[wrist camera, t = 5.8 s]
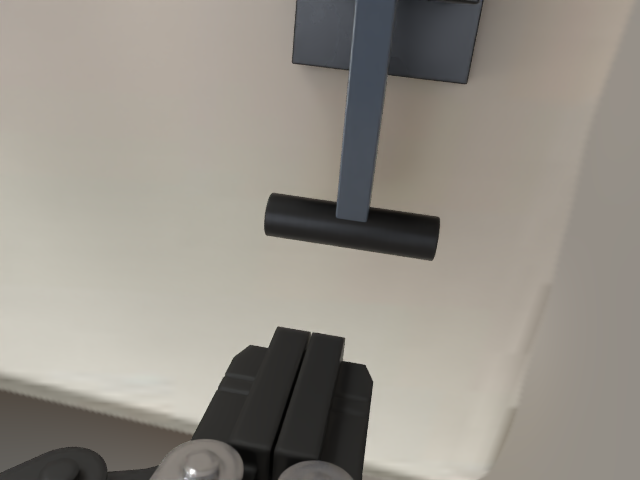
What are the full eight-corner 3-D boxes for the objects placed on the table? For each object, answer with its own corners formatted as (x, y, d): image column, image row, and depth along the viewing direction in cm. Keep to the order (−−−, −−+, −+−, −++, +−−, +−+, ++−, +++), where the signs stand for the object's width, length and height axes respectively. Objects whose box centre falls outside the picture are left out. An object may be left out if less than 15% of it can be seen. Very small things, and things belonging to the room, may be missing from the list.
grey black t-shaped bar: (432, 237, 21) (431, 277, 19) (276, 213, 21) (260, 250, 20) (521, -163, 14) (535, -163, 12) (282, -180, 14) (258, -183, 12)
